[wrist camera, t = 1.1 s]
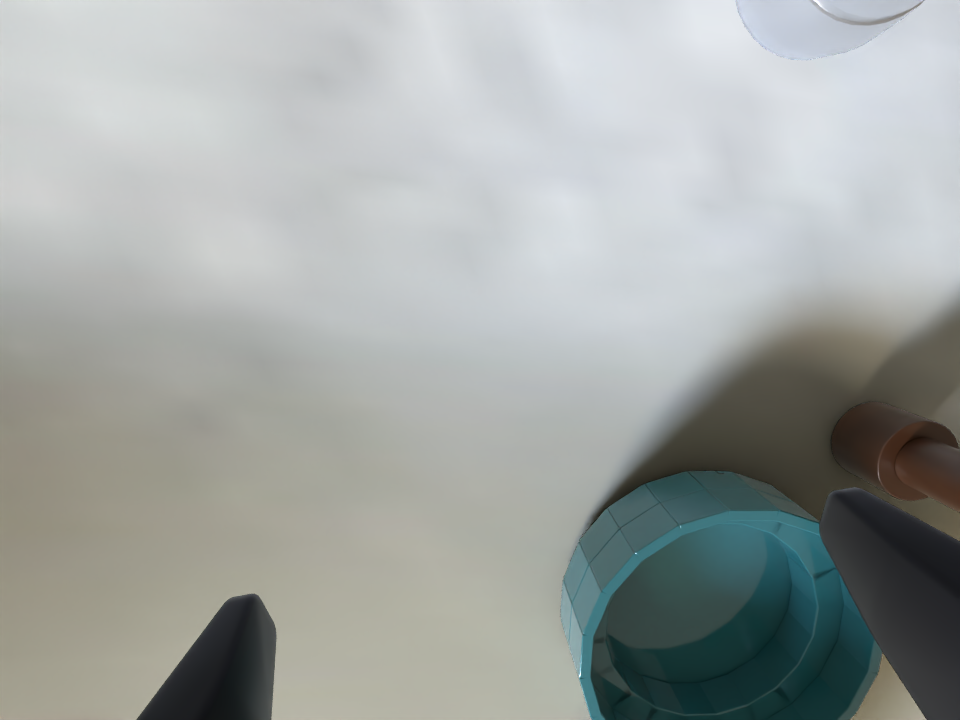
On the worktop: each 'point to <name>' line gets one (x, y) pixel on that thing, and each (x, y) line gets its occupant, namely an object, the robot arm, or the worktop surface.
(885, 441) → the post
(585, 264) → the worktop surface
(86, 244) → the worktop surface
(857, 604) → the robot arm
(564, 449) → the worktop surface
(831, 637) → the bowl
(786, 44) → the plastic bottle
